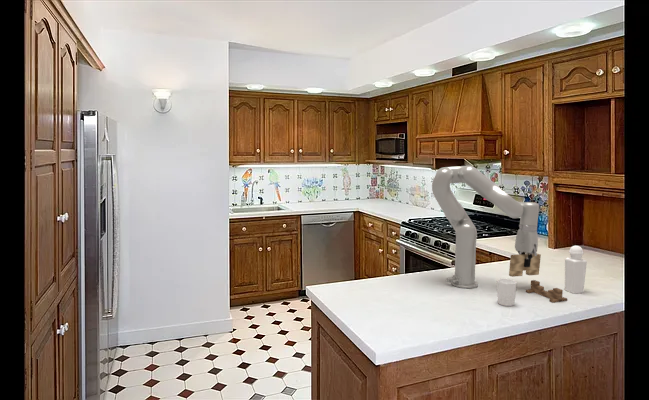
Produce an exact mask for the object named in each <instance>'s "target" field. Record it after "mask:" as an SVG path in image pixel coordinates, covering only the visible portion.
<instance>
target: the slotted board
mask: <svg viewBox="0 0 649 400" xmlns="http://www.w3.org/2000/svg"><path fill="white" fill-rule="evenodd" d="M529 255H530V254H529ZM541 255H542V254H539V253H537V256H534V257H532V259H531V263H530V267H524V261H525V259H526V254H519V253H518V254H510V258H509V271H508V276H510V277H523V272H525V275H527V276H538V275H540V268H541V267H540V266H541Z"/></svg>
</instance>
